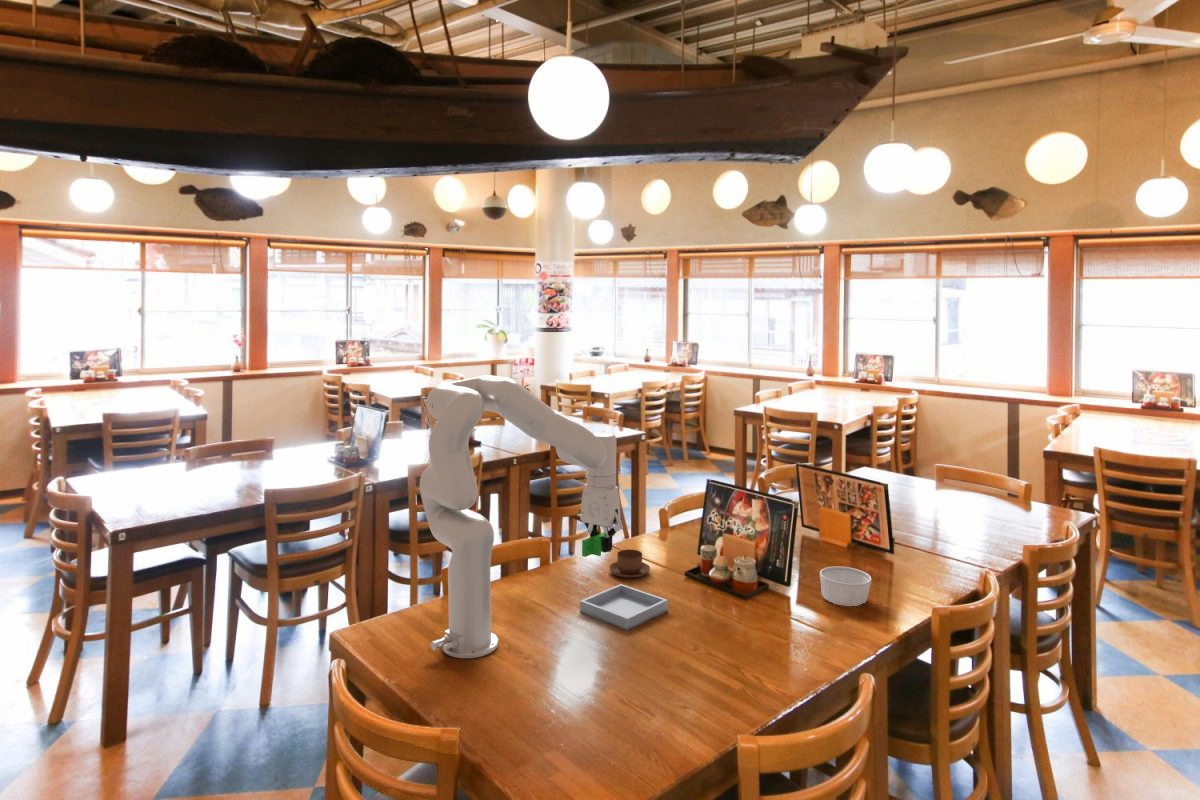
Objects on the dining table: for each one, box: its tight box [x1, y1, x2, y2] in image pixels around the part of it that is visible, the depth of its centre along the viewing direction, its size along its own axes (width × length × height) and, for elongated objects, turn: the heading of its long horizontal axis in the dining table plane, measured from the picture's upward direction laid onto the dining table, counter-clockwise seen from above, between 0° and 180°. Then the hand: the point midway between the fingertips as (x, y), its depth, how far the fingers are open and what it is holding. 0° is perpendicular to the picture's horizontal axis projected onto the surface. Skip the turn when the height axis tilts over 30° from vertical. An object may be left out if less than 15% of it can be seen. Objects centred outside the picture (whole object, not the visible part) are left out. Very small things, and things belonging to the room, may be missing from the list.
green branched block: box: [581, 532, 612, 558], centre depth 188 cm, size 10×4×4 cm, turn 141°
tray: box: [579, 583, 669, 632], centre depth 185 cm, size 16×16×3 cm
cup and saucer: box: [609, 549, 651, 579], centre depth 213 cm, size 12×12×6 cm
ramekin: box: [819, 565, 872, 606], centre depth 194 cm, size 13×13×7 cm
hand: (601, 548), depth 188 cm, fingers closed on green branched block, 3 cm apart
